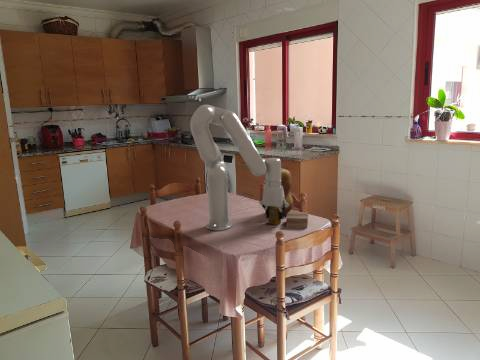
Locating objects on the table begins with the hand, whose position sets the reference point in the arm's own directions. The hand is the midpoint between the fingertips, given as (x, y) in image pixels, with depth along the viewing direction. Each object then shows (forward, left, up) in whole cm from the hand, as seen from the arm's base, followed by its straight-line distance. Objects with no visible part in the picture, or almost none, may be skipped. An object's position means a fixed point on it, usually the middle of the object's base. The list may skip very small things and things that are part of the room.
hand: (274, 217), depth 189 cm
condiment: (0, 0, -3) cm, 4 cm away
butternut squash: (+17, +3, -3) cm, 17 cm away
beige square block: (+4, -11, -4) cm, 12 cm away
